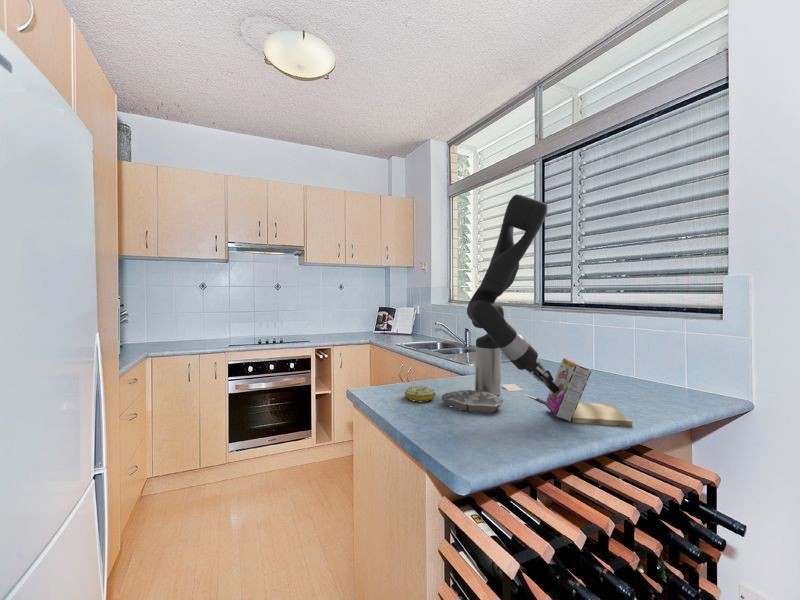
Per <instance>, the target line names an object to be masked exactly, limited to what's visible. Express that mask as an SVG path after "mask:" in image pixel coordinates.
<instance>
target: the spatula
mask: <svg viewBox="0 0 800 600" xmlns="http://www.w3.org/2000/svg"><path fill="white" fill-rule="evenodd" d="M501 388H503V389H505V390H506V391H508V392H512V391H513V392H514V391H515V392H516V391H523V389H522V388H521V387H519V386H518V385H517V384H514V383H508V384H505V383H504V384H501ZM523 395H524V396H526V397H529V398H532V399H535V401H538V402H540V403H542V404H544V405H545V402H546V401H544V400H543V399H541V398H538V397H535V396H533V395H532V396H531V395H528V394H523Z"/></svg>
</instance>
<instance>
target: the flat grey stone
mask: <svg viewBox="0 0 800 600" xmlns="http://www.w3.org/2000/svg"><path fill="white" fill-rule="evenodd" d="M441 400H442V402H443V403H444V404H445V405H446V406H447V405H448V406H452V407H455V408H458V409H457V410H459V409H461V410H460V411H462V410H466V411H465V412H469V413H473V412H480V413H479V414H493V413H494V412H496V411H497V410H498V409H500V406H501V405H502V404H503V403H504V399H501V398H500V397H499V396H498V395H497V396H496V395H493V394H491V393H488V392H478V393H477V391H475V390H472V389H466V390H463V389H462V390H461V389H460V390H457V391H450V392H445V393H444V394H442V396H441ZM448 406H447V407H448ZM455 408H454V409H455Z"/></svg>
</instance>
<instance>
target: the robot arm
mask: <svg viewBox="0 0 800 600" xmlns="http://www.w3.org/2000/svg"><path fill="white" fill-rule="evenodd" d="M548 207H549V206H548V204H547V203H545V202H543V201H540V200H537V199H534V198H531V197H528V196H525V195H523V194H518V193H517V194H514V195H512V197H511V198H510V199H509V201H508V203H507V206H506V208H505V209H506V210H505V213H504V217H503V220H502V223H501V227H500V231H499V235H498V239H497V243H496V246H495V248H494V252H493V254H492V257H491V260H490V262H489V265H488V268H487V270H486V272H485V274H484V276H483V278H482V281H481V283H480V285H479V287H478V288H477V290H476V291H475V292H474V294H473V295H472V297H471V299H469V302H468V305H467V308H466V314H467V316H468V318H469V319H470V320H471V323H472V325H473V326H474V327H475V328H477V329H483V330H484V331H485V332H486V334H484V335H481V336H479V337H477V338H476V339H475V365H474V391H477V393H478V392H488V393H491V394H493V395H496V396H497V397H498V396H499V395H501V388H502V383H501V382H502V381H501V379H502V374H501V373H502V354H503V355H504V356H505V357H506V358H507V359H508V360H509V361H510V362H511V363H512V364H513V365H514V366H515V367H516V368H517V369H518V370H520V371H523V370H525V371H527V373H528V374H530V375H532V377H533V378H535V379H536V380H537V381H538V382H540V383H541V384H543V385H544V386H546V388H547V389H549V392H550V391H551V392H553V393H556V392H557V391H558V390H559V387H558V386H557V385H556V384H555V383H554V380H555V378H554V377H553V375H552V374H551V372H550V370H546V368H544V365H543V364H542V363H541V362H538V361H537V360H538V357H539V354H538V352H537V351H536V350H535V348H534V347H533V346H532V345H531V344H530V343H529V342H528V341H527V340H526V339H525V337H523V336H522V335H521V334H519V333H518V332H517V330H516V329H514V327H512V325H511V324H510V323H509V322H508V321H507V320H506V319H505V312H504V308H503V306H502V304H500V303H495V302H496V300H497V299H498V297H500V296H502V295H503V293H504V292H506V291H507V290H508V289H509V288H510V287H511V286H512V284H513V283H514V281H515V280H516V277H517V274H518V271H519V269H520V261H521V260H522V258H523V257H524V255H525V254H526V252H527V251H528V249H529V248H530V245H531V244H532V243H533V241H534V239H535V238H536V236H537V234H538V233H539V231H540V229H541V227H542V226H543V223H544V222H545V220H546V218H547V217H546V216H547V214H548ZM514 228H515V229H519V230H520V231H524V234H523V235H522V236H521V238H520V239H519V240H518V241H517V242H516V243H515V241H514Z"/></svg>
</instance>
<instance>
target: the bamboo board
mask: <svg viewBox="0 0 800 600" xmlns="http://www.w3.org/2000/svg"><path fill="white" fill-rule="evenodd" d="M571 423H573V424H585V425H586V424H588V425H602V426H616V425H622V426H621V427H633V425H634V424H633V420H631V419H630V418H629V417H628V416H626V415H625V414H623V413H622V412H621V411H620V410H618V409H617V408H615V407H614V406H613V405H611V404H610V403H609V404H608V403H606V404H605V403H595V402H594V403H593V402H579V403H578V405H577V408H576V410H575V413H574V415H573V417H572V420H571Z"/></svg>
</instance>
